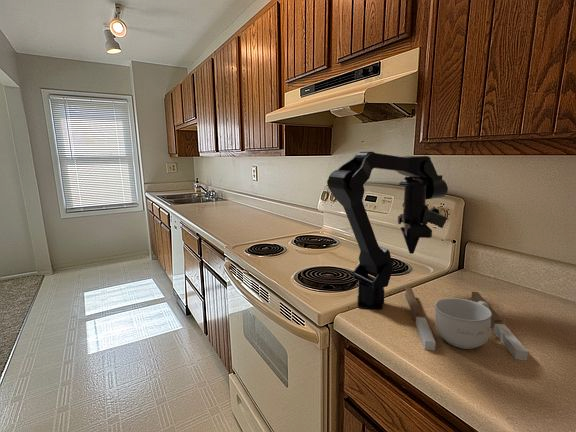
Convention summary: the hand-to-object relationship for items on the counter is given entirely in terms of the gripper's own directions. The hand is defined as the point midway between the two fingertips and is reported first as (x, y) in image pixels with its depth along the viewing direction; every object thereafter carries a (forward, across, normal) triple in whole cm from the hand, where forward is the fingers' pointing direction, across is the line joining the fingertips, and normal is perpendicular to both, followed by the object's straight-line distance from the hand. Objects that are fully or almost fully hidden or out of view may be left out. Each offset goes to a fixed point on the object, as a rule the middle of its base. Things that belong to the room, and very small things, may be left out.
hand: (411, 253), depth 90 cm
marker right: (+12, -24, -16) cm, 31 cm away
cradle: (+12, -11, -8) cm, 18 cm away
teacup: (+12, -23, -8) cm, 28 cm away
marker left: (+12, -24, +1) cm, 27 cm away
